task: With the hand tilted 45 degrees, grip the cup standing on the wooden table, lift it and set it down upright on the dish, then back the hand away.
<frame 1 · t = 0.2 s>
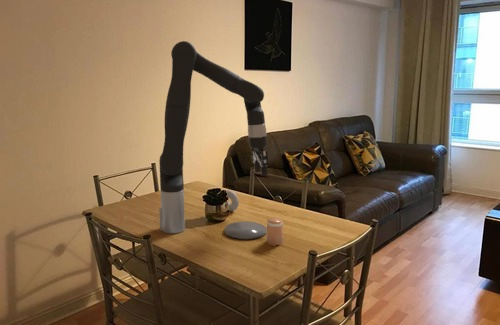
hand: (261, 173, 174), 23 cm above the table, tool pointing down, fingers open, 8 cm apart
dish: (245, 231, 171), on the table
cup: (274, 242, 160), on the table
donut: (229, 211, 197), on the table
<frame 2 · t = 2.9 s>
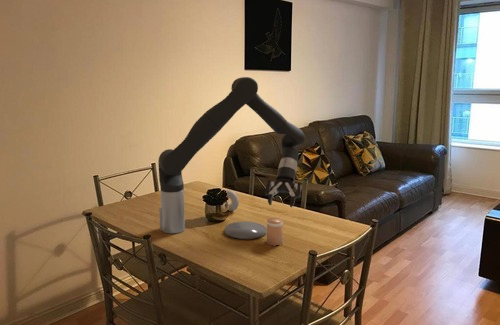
hand: (280, 205, 166), 12 cm above the table, tool tilted 45°, fingers open, 8 cm apart
nothing on the table moved.
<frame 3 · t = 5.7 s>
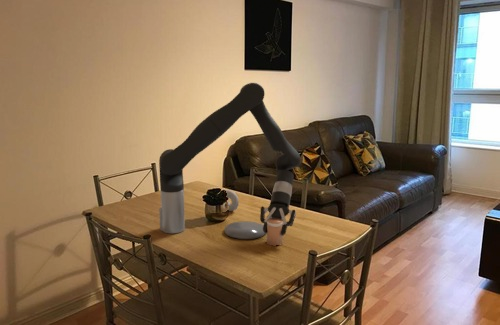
hand: (273, 233, 158), 4 cm above the table, tool tilted 45°, fingers closed on cup, 6 cm apart
cup: (274, 242, 160), on the table, touching gripper
everything else where it was.
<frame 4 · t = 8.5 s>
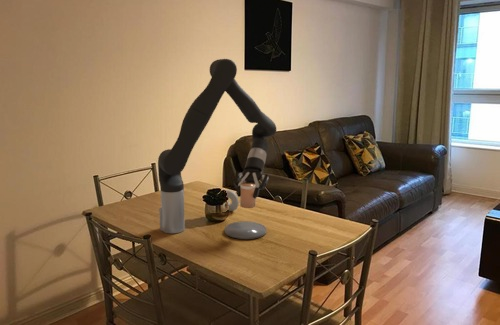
hand: (246, 196, 164), 16 cm above the table, tool tilted 45°, fingers closed on cup, 6 cm apart
cup: (247, 205, 167), point 12 cm above the table, touching gripper
everything else where it was.
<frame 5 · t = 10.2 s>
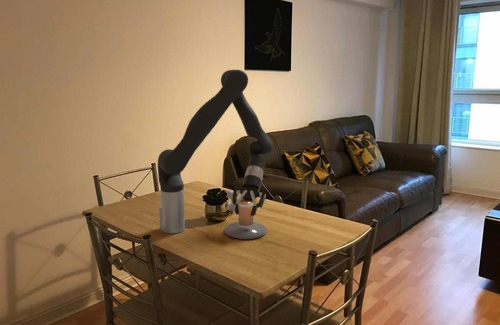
hand: (244, 214, 168), 8 cm above the table, tool tilted 45°, fingers closed on cup, 6 cm apart
cup: (245, 223, 170), point 4 cm above the table, touching gripper
everything else where it was.
when the fingers open (7 cm above the table, at t = 11.3 s): cup drops 1 cm, resting on dish.
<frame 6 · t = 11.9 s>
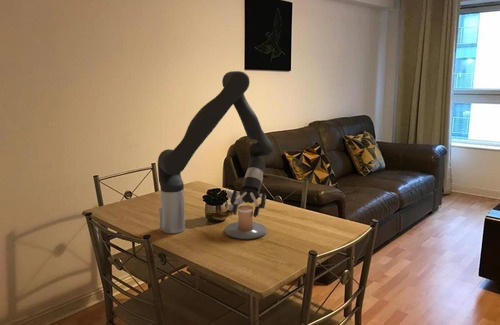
hand: (244, 215, 168), 8 cm above the table, tool tilted 45°, fingers open, 8 cm apart
cup: (245, 228, 171), point 1 cm above the table, touching dish
everything else where it was.
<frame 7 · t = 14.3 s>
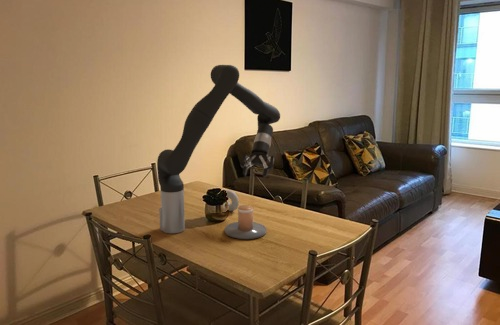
hand: (254, 176, 177), 21 cm above the table, tool tilted 45°, fingers open, 8 cm apart
nothing on the table moved.
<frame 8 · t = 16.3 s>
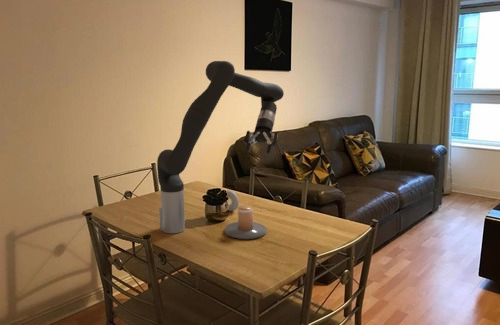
hand: (257, 152, 177), 31 cm above the table, tool tilted 45°, fingers open, 8 cm apart
nothing on the table moved.
at the end: cup inside the target area on the dish (0.2 cm from its centre), point 1.4 cm above the dish's base; cup tilted 0°; the gripper is holding nothing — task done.
